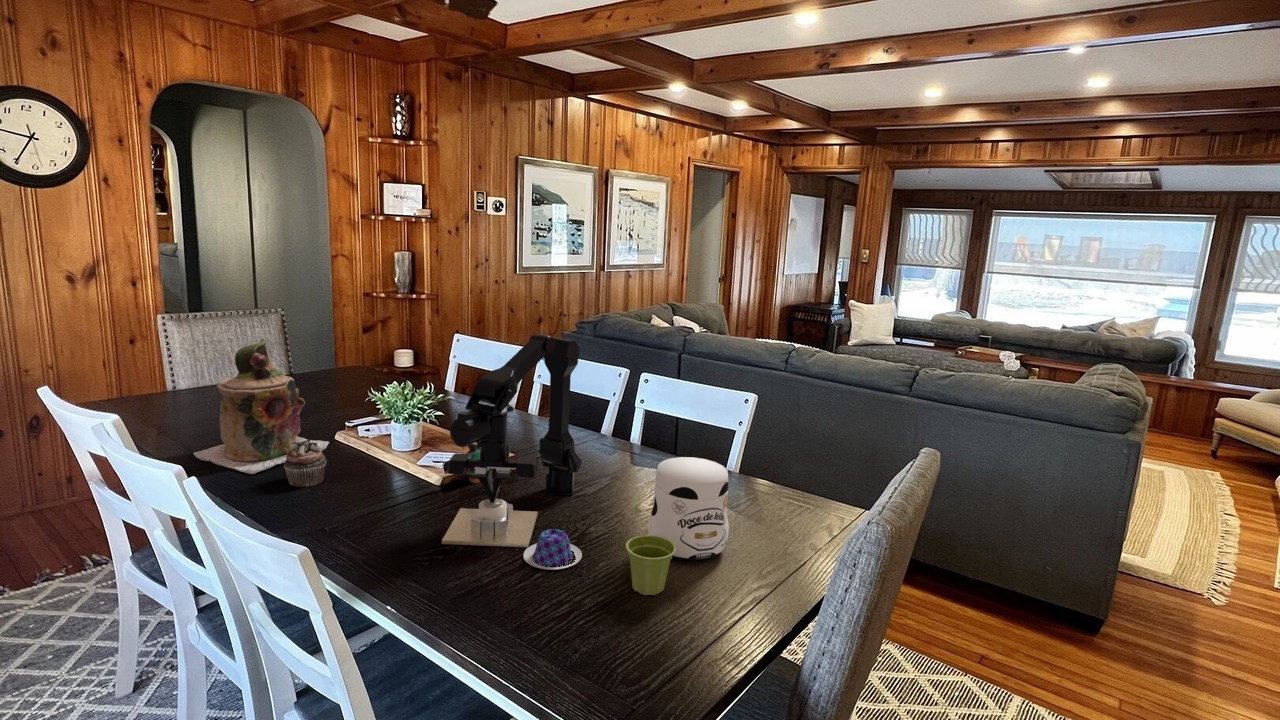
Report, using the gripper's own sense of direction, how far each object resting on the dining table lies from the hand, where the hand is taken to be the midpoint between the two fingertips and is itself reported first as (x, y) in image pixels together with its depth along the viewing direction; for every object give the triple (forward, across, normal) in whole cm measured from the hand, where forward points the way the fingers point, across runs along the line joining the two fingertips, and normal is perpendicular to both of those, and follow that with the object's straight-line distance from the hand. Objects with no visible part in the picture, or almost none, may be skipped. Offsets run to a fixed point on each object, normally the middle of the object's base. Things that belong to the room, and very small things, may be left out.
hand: (492, 501), depth 147 cm
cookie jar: (+7, +71, -39) cm, 81 cm away
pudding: (+7, -15, +12) cm, 20 cm away
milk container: (+7, -43, +5) cm, 44 cm away
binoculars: (+7, +12, -29) cm, 32 cm away
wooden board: (+6, 0, 0) cm, 6 cm away
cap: (+6, 0, 0) cm, 6 cm away
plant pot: (+6, -34, +22) cm, 41 cm away
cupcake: (+7, +51, -22) cm, 56 cm away
